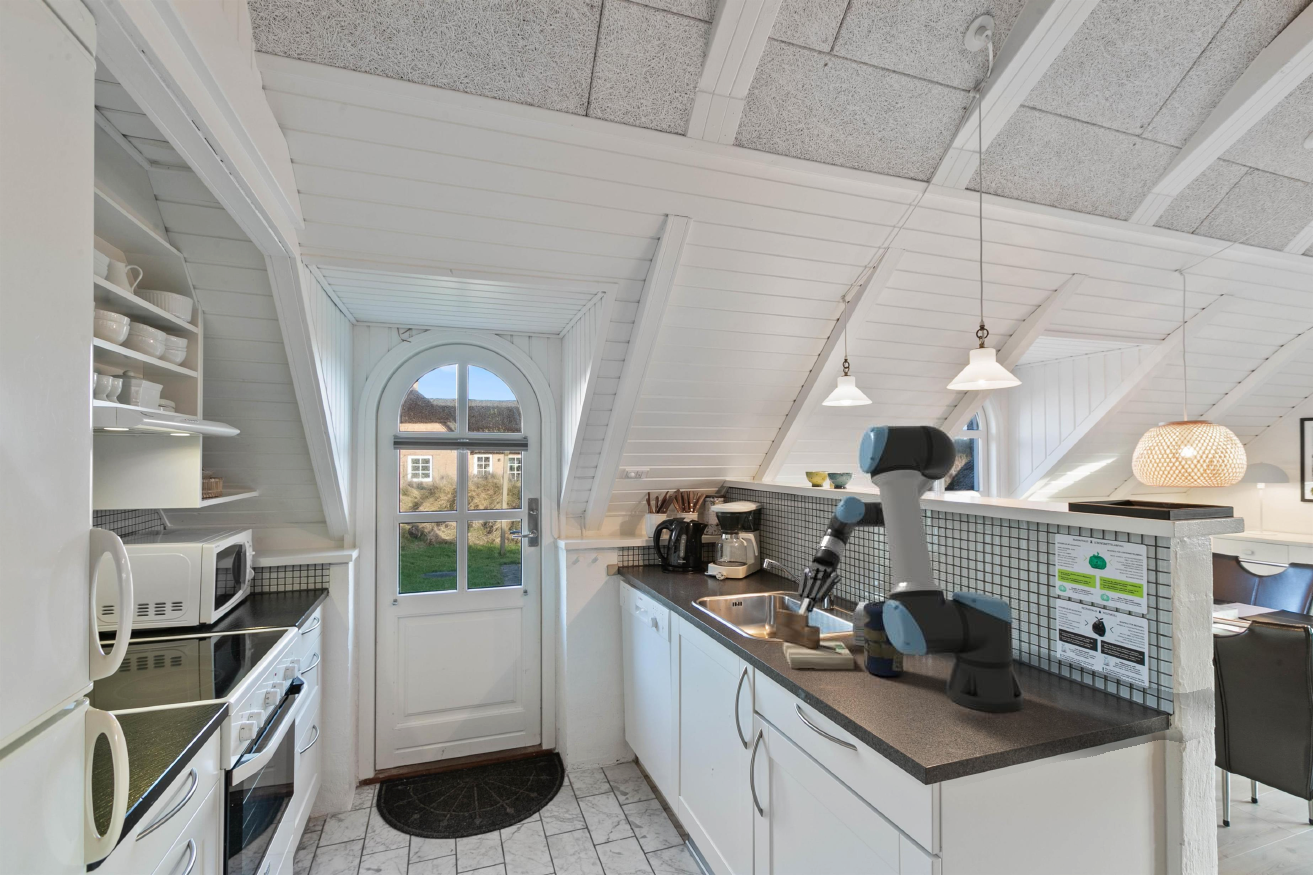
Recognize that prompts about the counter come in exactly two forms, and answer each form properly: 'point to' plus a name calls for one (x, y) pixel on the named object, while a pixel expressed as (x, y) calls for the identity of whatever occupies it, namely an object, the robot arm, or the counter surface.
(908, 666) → the counter surface
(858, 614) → the supplement box
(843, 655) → the dial board
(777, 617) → the brown stepped wooden block
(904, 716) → the counter surface
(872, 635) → the canister
